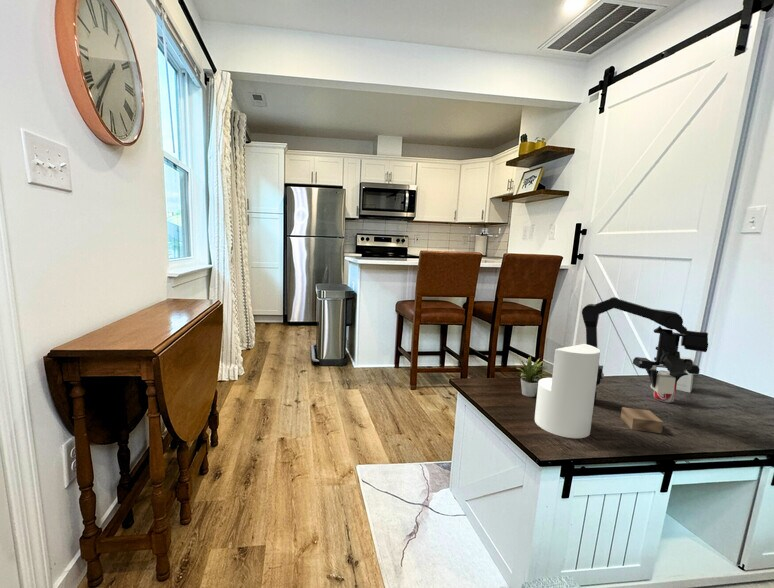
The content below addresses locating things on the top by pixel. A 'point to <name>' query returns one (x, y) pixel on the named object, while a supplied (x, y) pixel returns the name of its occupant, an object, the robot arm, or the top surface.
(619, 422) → the top surface
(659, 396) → the soda can
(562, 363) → the white stepped curved block
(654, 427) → the tan square slab
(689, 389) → the skincare box
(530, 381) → the house plant
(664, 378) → the cream cube
